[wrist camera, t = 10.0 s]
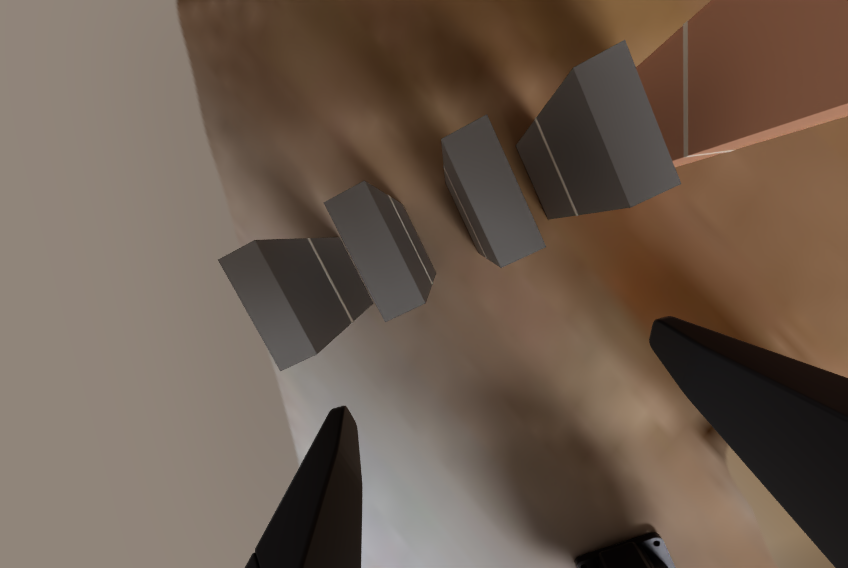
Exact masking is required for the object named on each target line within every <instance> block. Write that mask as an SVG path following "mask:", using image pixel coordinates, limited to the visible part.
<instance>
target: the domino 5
mask: <svg viewBox="0 0 848 568" xmlns="http://www.w3.org/2000/svg"><path fill="white" fill-rule="evenodd" d="M636 70H637V72H638V75H639V77H640V80H641V82H642V85H643V87H644V90H645V93H646V95H647V98H648V100H649V103H650V105H651V108H652V110H653V113H654V116H655V118H656V121H657V123H658V126H659V128H660V131H661V133H662V136H663V139H664V141H665V144H666V146H667V149H668V151H669V154H670V156H671V159H672V162H673V164H674V167H678V166H681V165H684V164H688V163H691V162H694V161H698V160H701V159H705V158H708V157H711V156H715V155H718V154H721V153H725V152H730V151H733V150H735V149H738V148H742V147H745V146H748V145H752V144H755V143H758V142H762V141H765V140H769V139H772V138H775V137H779V136H782V135H785V134H789V133H792V132H795V131H799V130H802V129H806V128H809V127H812V126H816V125H819V124H822V123H826V122H829V121H833V120H836V119H839V118H843V117H846V116H848V0H711V1H710V2H709V3H708V4H707V5H705V6H704V7H703V8H702V9H701V10H700V11H699V12H698V13H697V14H695V15H694V16H693V17H692V18H691V19H690V20H689V21H687V22H685V23H684V24H683V26H682V27H681V28H680V29H679V30H678V31H676V32H675V33H674V34H673V35H672V36H671V37H670V38H669V39H668V40H666V41H665V42H664V43H663V44H662V45H661V46H660V47H659V48H657V49H656V50H655V51H654V52H653V53H652V54H651V55H650V56H649V57H647V58H646V59H645V60H644V61H643V62H642V63H641V64H640V65H638V66H637V67H636Z"/></svg>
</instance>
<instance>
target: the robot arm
mask: <svg viewBox="0 0 848 568" xmlns="http://www.w3.org/2000/svg"><path fill="white" fill-rule="evenodd" d="M649 343H650V346H651V348H652V350H653V351H654V352H655V354H656V355H657V357H658V358H659V359H660V361H661V362H662V364H663V365H664V366H665V368H666V369H667V371H668V372H669V373H670V375H671V376H672V378H673V379H674V380H675V382H676V383H677V385H678V386H679V387H680V389H681V390H682V391H683V393H684V394H685V395H686V396H687V398H688V399H689V400H690V401H691V402H692V404H693V405H694V406H695V407H696V408H697V409H698V410H699V412H700V413H701V414H702V415H703V416H704V417H705V418H706V420H707V421H708V422H709V423H710V424H711V425H712V426H713V428H714V429H715V430H716V431H717V432H718V433H719V435H720V436H721V437H722V438H723V439H724V440H725V441H726V443H727V444H728V445H729V446H730V447H731V448H732V449H733V450H734V451H735V453H736V454H737V455H738V456H739V457H740V458H741V460H742V461H743V462H744V463H745V464H746V466H747V467H748V468H749V469H750V470H751V471H752V472H753V473H754V475H755V476H756V477H757V478H758V479H759V480H760V481H761V483H762V484H763V485H764V486H765V487H766V488H767V490H768V491H769V492H770V493H771V494H772V495H773V496H774V498H775V499H776V500H777V501H778V502H779V503H780V505H781V506H782V507H783V508H784V509H785V510H786V511H787V512H788V514H789V515H790V516H791V517H792V518H793V519H794V521H795V522H796V523H797V524H798V525H799V526H800V527H801V529H802V530H803V531H804V532H805V533H806V534H807V536H808V537H809V538H810V539H811V540H812V541H813V542H814V544H815V545H816V546H817V547H818V548H819V549H820V550H821V552H822V553H823V554H824V555H825V556H826V557H827V558H828V560H829V561H830V562H831V563H832V564H833V565H834V566H835V568H848V378H846V377H843V376H840V375H837V374H834V373H832V372H829V371H826V370H823V369H820V368H817V367H815V366H812V365H809V364H806V363H803V362H800V361H797V360H795V359H792V358H789V357H786V356H783V355H780V354H778V353H775V352H772V351H769V350H766V349H763V348H761V347H758V346H755V345H752V344H749V343H746V342H744V341H741V340H738V339H735V338H732V337H729V336H726V335H724V334H721V333H718V332H715V331H712V330H709V329H707V328H704V327H701V326H698V325H695V324H692V323H690V322H687V321H684V320H681V319H678V318H675V317H672V316H667V317H663V318H659V319H656V320H655V321H654V322H653V325H652V329H651V334H650V338H649ZM361 541H362V475H361V463H360V452H359V441H358V430H357V425H356V422H355V420H354V418H353V417H352V415H351V413H350V411H349V410H348V408H347V407H346V406H341V407H337V408H333V409H332V410H331V411H330V412H329V414H328V416H327V417H326V419H325V421H324V423H323V425H322V427H321V428H320V430H319V432H318V434H317V436H316V438H315V439H314V441H313V443H312V445H311V447H310V449H309V451H308V452H307V454H306V456H305V458H304V460H303V462H302V463H301V465H300V467H299V469H298V471H297V473H296V475H295V476H294V478H293V480H292V482H291V484H290V486H289V487H288V490H287V491H286V493H285V495H284V497H283V498H282V500H281V502H280V504H279V506H278V508H277V510H276V511H275V513H274V515H273V517H272V519H271V521H270V522H269V524H268V526H267V528H266V530H265V532H264V534H263V535H262V537H261V539H260V541H259V543H258V545H257V546H256V548H255V553H253V554H252V555H251V557H250V559H249V561H248V563H247V565H246V566H245V568H361ZM575 564H576V566H577V568H675V565H674V563H673V561H672V559H671V557H670V554H669V552H668V550H667V548H666V546H665V543H664V541H663V540H662V538H661V537H660V536H659V534H657V533H649V534H646V535H643V536H640V537H637V538H634V539H631V540H628V541H625V542H622V543H619V544H616V545H612V546H609V547H606V548H603V549H600V550H597V551H594V552H591V553H588V554H585V555H582V556H579V557H577V558H576V559H575Z"/></svg>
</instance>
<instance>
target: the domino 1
mask: <svg viewBox="0 0 848 568" xmlns="http://www.w3.org/2000/svg"><path fill="white" fill-rule="evenodd" d="M218 261H219V263H220V264H221V266H222V268H223V270H224V272H225V273H226V275H227V277H228V279H229V280H230V282H231V284H232V286H233V287H234V289H235V291H236V293H237V294H238V296H239V298H240V300H241V302H242V304H243V305H244V307H245V309H246V311H247V313H248V314H249V316H250V318H251V319H252V321H253V323H254V325H255V327H256V328H257V330H258V332H259V334H260V336H261V337H262V339H263V341H264V343H265V345H266V346H267V348H268V350H269V352H270V354H271V355H272V357H273V359H274V361H275V362H276V364H277V366H278V368H279V370H280V371H282V370H284V369H286V368H289V367H291V366H293V365H295V364H297V363H299V362H301V361H304V360H306V359H308V358H310V357H312V356H314V355H316V354H318V353H319V352H320V351H321V350H322V349H323V348H324V347H325V346H327V345H328V344H329V343H330V342H331V341H332V340H333V339H334V338H335V337H337V336H338V335H339V334H340V333H341V332H342V331H343V330H344V329H345V328H346V327H348V326H349V325H350V324H351V323H353V322H354V320H355V319H356V318H358V317H359V316H360V315H361V314H362V313H363V312H364V311H365V310H366V309H367V308H369V307H370V306H371V305H372V304H373V302H372V300H371V298H370V296H369V294H368V292H367V290H366V288H365V286H364V285H363V283H362V281H361V279H360V277H359V275H358V273H357V271H356V269H355V267H354V265H353V263H352V261H351V259H350V257H349V255H348V253H347V252H346V250H345V248H344V246H343V244H342V242H341V240H340V238H339V237H333V238H303V239H273V240H254V241H252V242H250V243H248V244H247V245H245V246H243V247H241V248H239V249H237V250H235V251H234V252H232V253H230V254H228V255H226V256H224V257H222V258H221V259H219V260H218Z"/></svg>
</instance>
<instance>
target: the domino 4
mask: <svg viewBox="0 0 848 568" xmlns="http://www.w3.org/2000/svg"><path fill="white" fill-rule="evenodd" d="M516 148H517V150H518V152H519V154H520V157H521V159H522V161H523V163H524V166H525V168H526V170H527V172H528V175H529V177H530V179H531V182H532V184H533V186H534V188H535V191H536V193H537V195H538V197H539V200H540V202H541V204H542V206H543V209H544V211H545V213H546V216H547V218H548V219H555V218H562V217H569V216H575V215H576V216H578V215H582V214H589V213H596V212H603V211H610V210H616V209H623V208H630V207H633V206H635V205H637V204H639V203H641V202H643V201H645V200H648V199H650V198H652V197H654V196H656V195H658V194H660V193H663V192H665V191H667V190H669V189H671V188H673V187H675V186H678V185H680V184H681V182H680V179H679V177H678V174H677V172H676V169H675V167H674V164H673V162H672V159H671V156H670V154H669V151H668V149H667V146H666V144H665V141H664V139H663V136H662V133H661V131H660V128H659V126H658V123H657V121H656V118H655V116H654V113H653V110H652V108H651V105H650V103H649V100H648V98H647V95H646V93H645V90H644V87H643V85H642V82H641V80H640V77H639V75H638V72H637V70H636V67H635V64H634V62H633V59H632V57H631V54H630V52H629V49H628V47H627V44H626V41H625V40H624V41H622V42H620V43H618V44H616V45H614V46H613V47H611V48H609V49H607V50H605V51H603V52H601V53H600V54H598V55H596V56H594V57H592V58H590V59H588V60H587V61H585V62H583V63H581V64H579V65H577V66H576V67H574V68H573V69H572V70H571V71H570V73H569V74H568V75H567V77H566V78H565V80H564V81H563V82H562V84H561V85H560V86H559V88H558V89H557V90H556V92H555V93H554V94H553V96H552V97H551V98H550V100H549V101H548V103H547V104H546V105H545V107H544V108H543V109H542V111H541V112H540V113H539V115H538V116H537V117H536V118H535V120H534V121H533V123H532V124H531V126H530V127H529V128H528V130H527V131H526V132H525V134H524V135H523V136H522V138H521V139H520V140H519V142H518V143H517V144H516Z"/></svg>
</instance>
